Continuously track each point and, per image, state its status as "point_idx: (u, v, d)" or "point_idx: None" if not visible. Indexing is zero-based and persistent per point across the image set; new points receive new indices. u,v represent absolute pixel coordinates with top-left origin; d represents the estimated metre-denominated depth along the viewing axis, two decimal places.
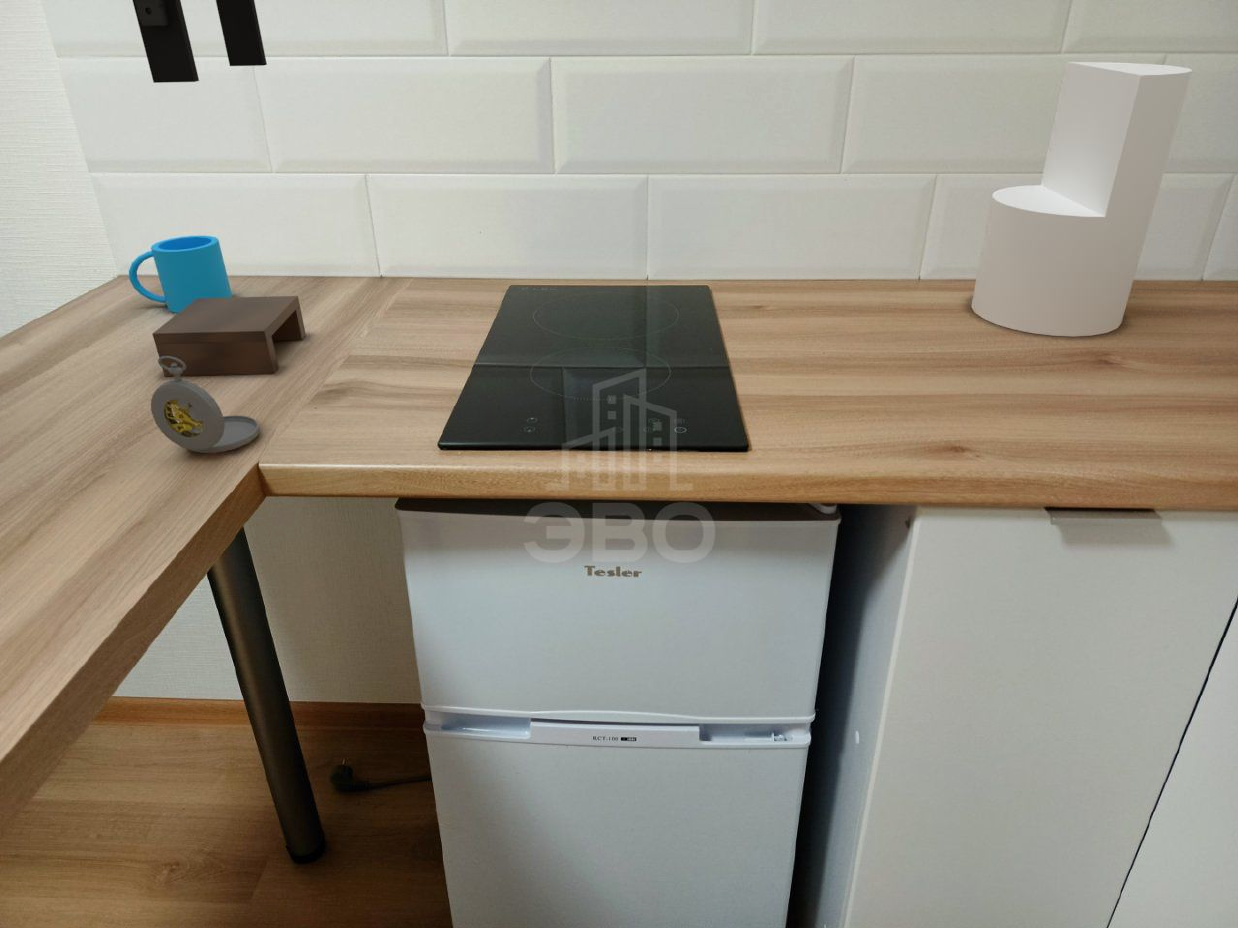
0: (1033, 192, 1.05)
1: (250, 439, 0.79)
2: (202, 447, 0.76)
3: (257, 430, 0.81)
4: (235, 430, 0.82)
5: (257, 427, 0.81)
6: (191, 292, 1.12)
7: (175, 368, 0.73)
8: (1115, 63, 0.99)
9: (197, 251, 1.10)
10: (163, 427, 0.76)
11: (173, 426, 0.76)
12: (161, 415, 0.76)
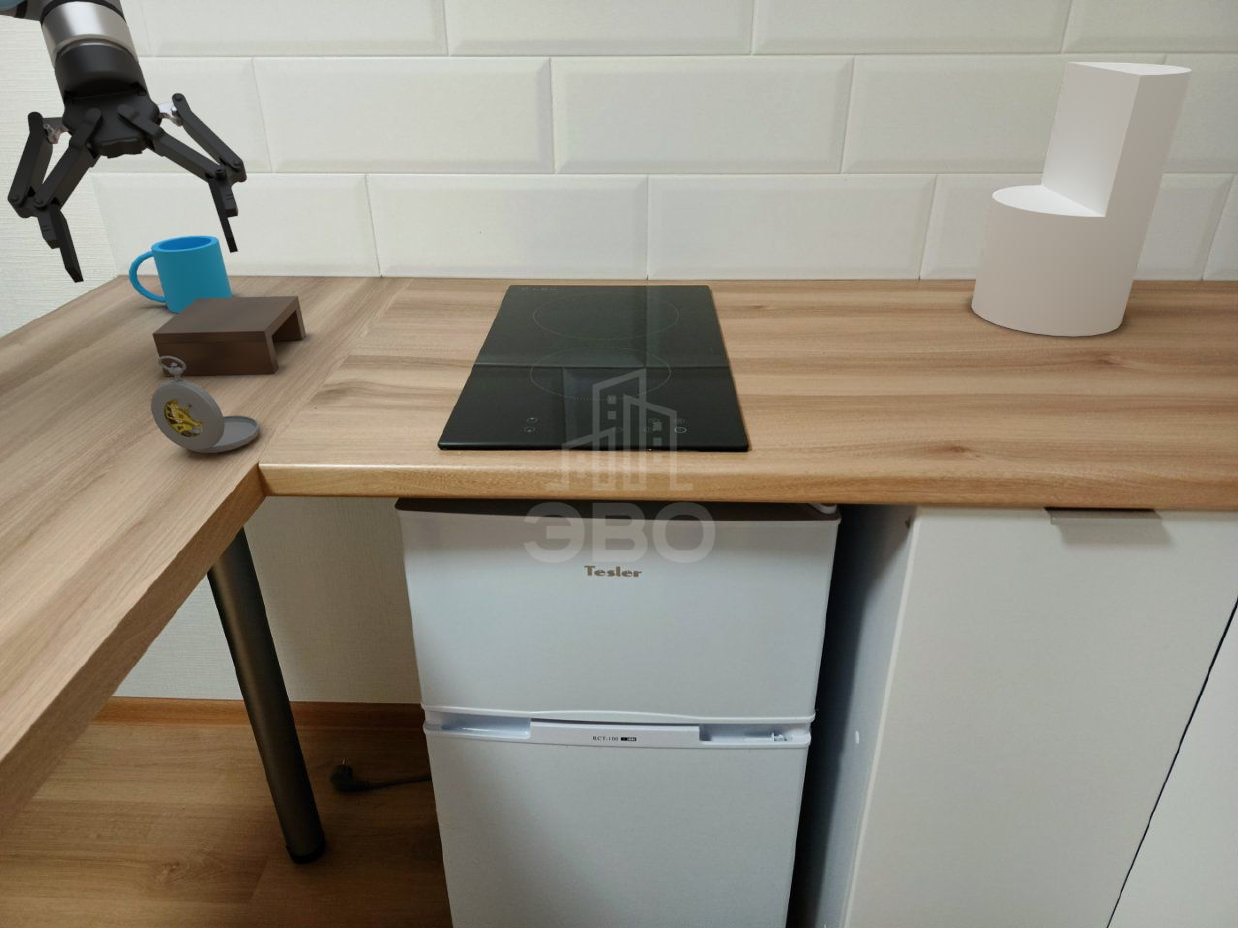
0: (1033, 192, 1.05)
1: (250, 439, 0.79)
2: (202, 447, 0.76)
3: (257, 430, 0.81)
4: (235, 430, 0.82)
5: (257, 427, 0.81)
6: (191, 292, 1.12)
7: (175, 368, 0.73)
8: (1115, 63, 0.99)
9: (197, 251, 1.10)
10: (163, 427, 0.76)
11: (173, 426, 0.76)
12: (161, 415, 0.76)
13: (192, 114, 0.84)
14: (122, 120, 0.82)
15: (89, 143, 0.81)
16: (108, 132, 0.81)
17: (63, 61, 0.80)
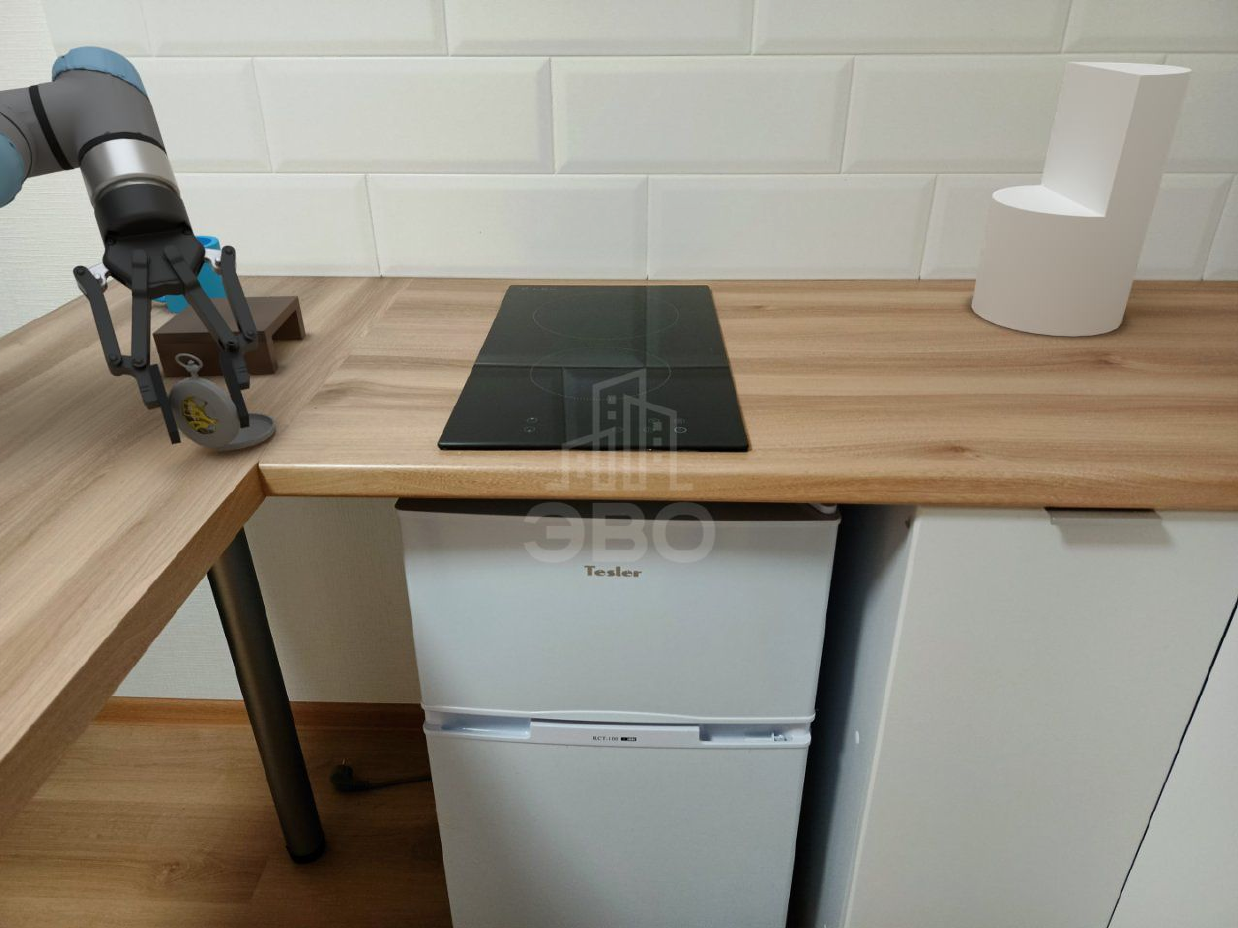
0: (1033, 192, 1.05)
1: (266, 437, 0.80)
2: (218, 444, 0.77)
3: (273, 428, 0.81)
4: (251, 428, 0.82)
5: (273, 425, 0.81)
6: None
7: (192, 366, 0.74)
8: (1115, 63, 0.99)
9: None
10: (180, 424, 0.77)
11: (190, 423, 0.77)
12: (178, 412, 0.76)
13: (233, 270, 0.80)
14: (164, 259, 0.78)
15: None
16: (153, 274, 0.77)
17: (108, 200, 0.76)
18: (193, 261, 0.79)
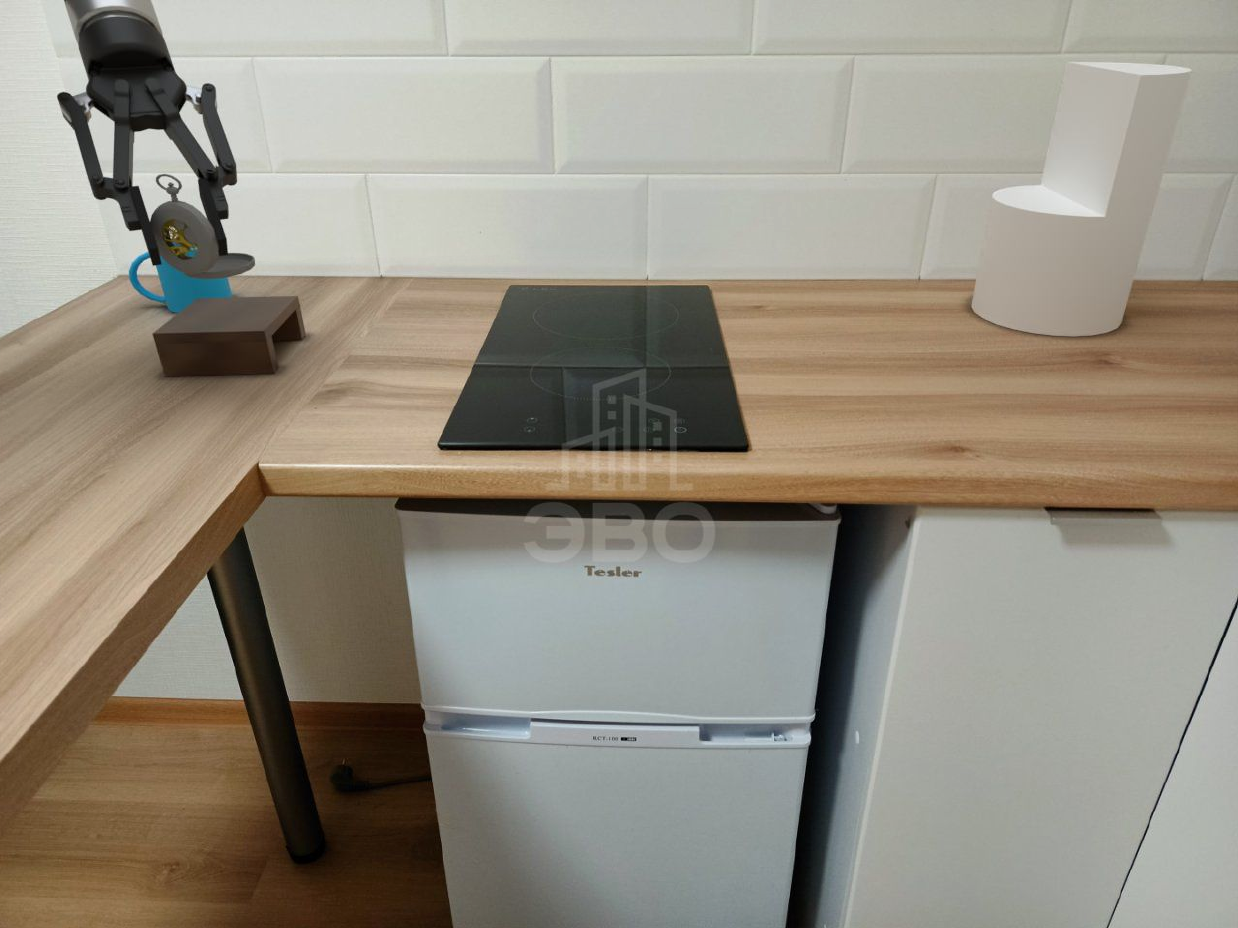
0: (1033, 192, 1.05)
1: (245, 269, 0.82)
2: (197, 270, 0.79)
3: (252, 263, 0.83)
4: (232, 265, 0.85)
5: (252, 260, 0.84)
6: (191, 292, 1.12)
7: (172, 187, 0.76)
8: (1115, 63, 0.99)
9: None
10: (161, 250, 0.79)
11: (170, 249, 0.79)
12: (159, 238, 0.79)
13: (213, 107, 0.82)
14: (146, 91, 0.80)
15: None
16: (135, 104, 0.79)
17: (91, 31, 0.78)
18: (174, 96, 0.81)
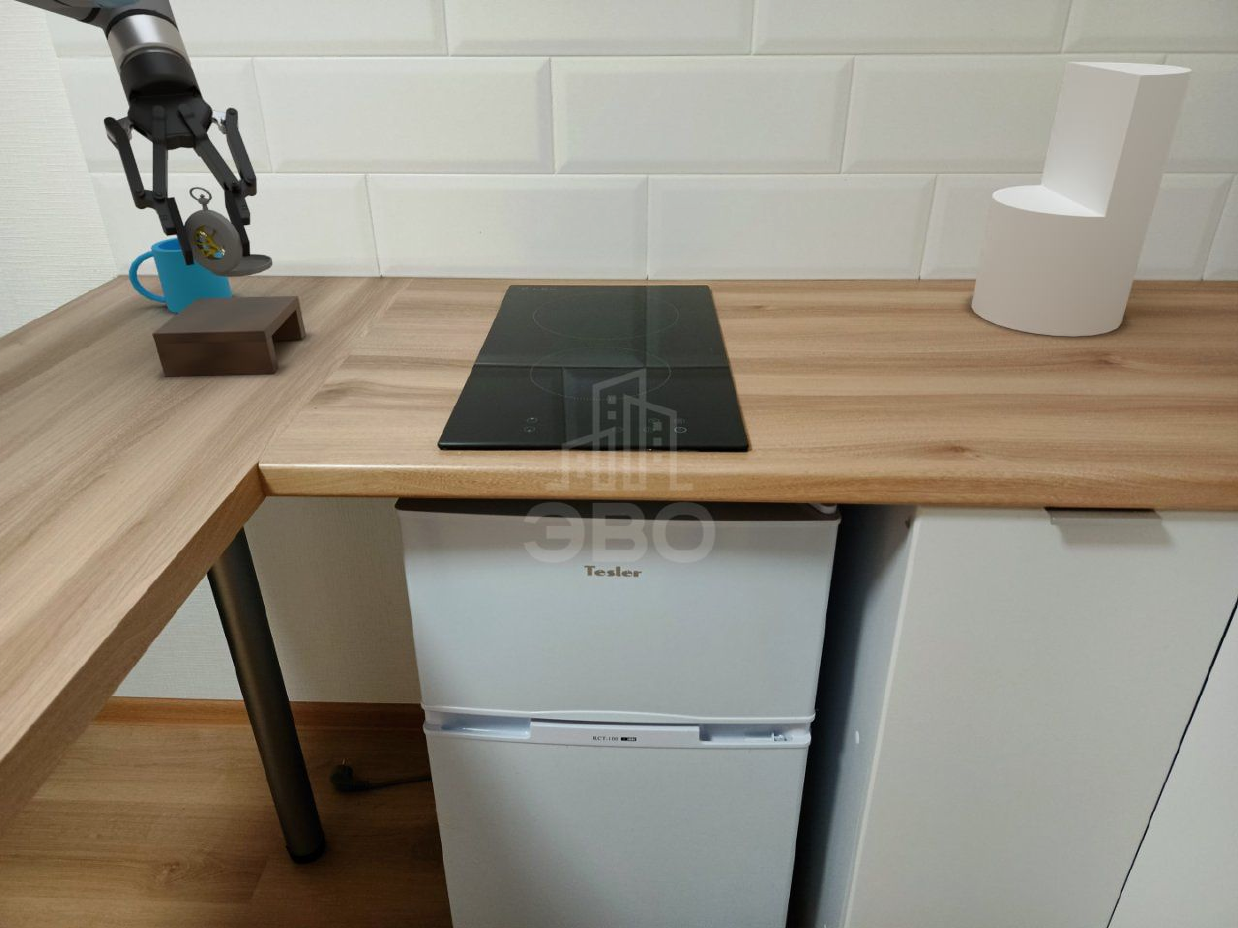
0: (1033, 192, 1.05)
1: (264, 268, 0.95)
2: (224, 269, 0.92)
3: (270, 263, 0.96)
4: (252, 265, 0.98)
5: (270, 261, 0.97)
6: (191, 292, 1.12)
7: (203, 198, 0.89)
8: (1115, 63, 0.99)
9: None
10: (193, 252, 0.92)
11: (201, 251, 0.92)
12: (191, 241, 0.92)
13: (236, 128, 0.95)
14: (179, 115, 0.93)
15: None
16: (170, 127, 0.92)
17: (131, 64, 0.91)
18: (202, 119, 0.94)
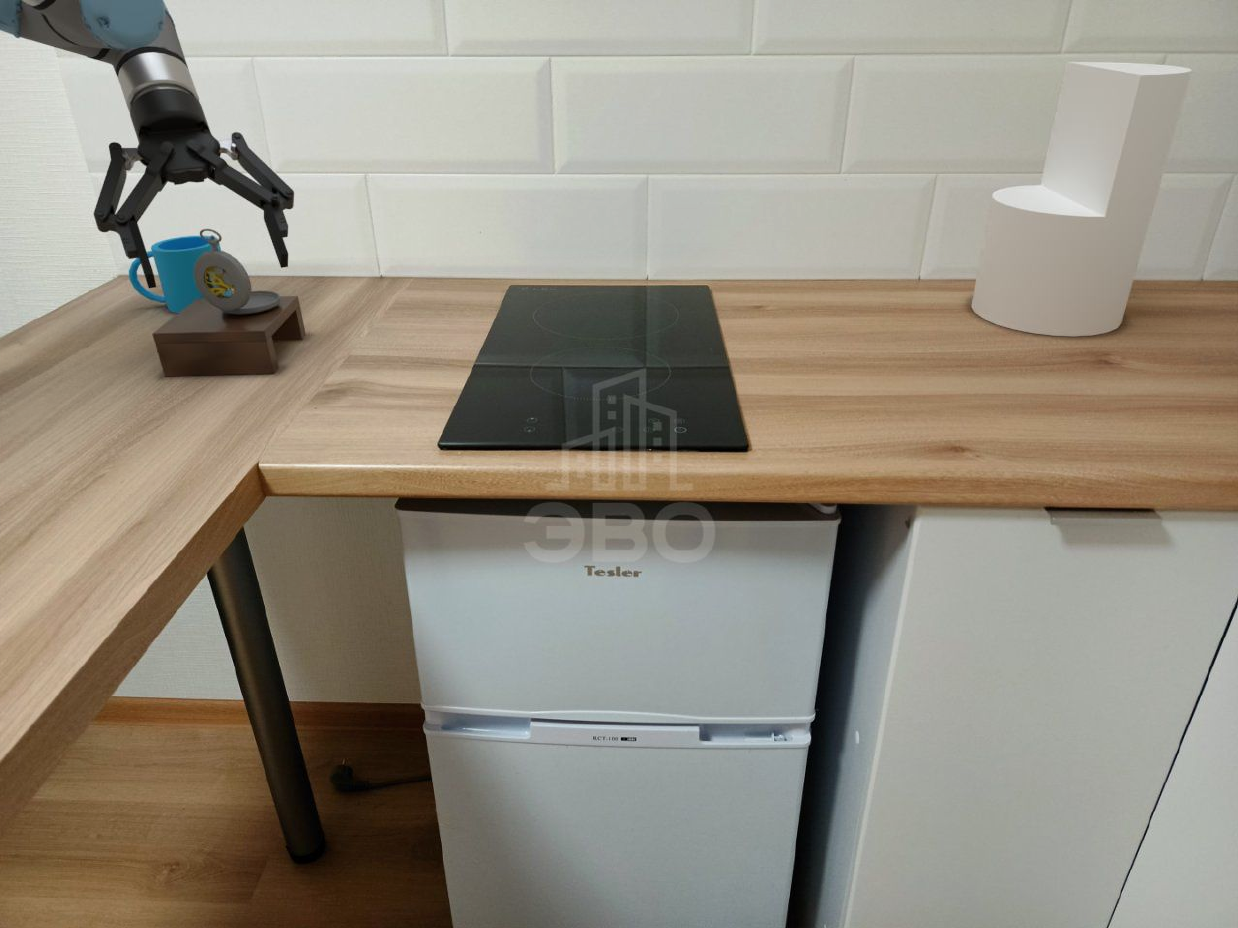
0: (1033, 192, 1.05)
1: (272, 306, 0.97)
2: (233, 307, 0.94)
3: (278, 300, 0.99)
4: (261, 301, 1.00)
5: (278, 298, 0.99)
6: (191, 292, 1.12)
7: (213, 239, 0.92)
8: (1115, 63, 0.99)
9: (197, 251, 1.10)
10: (203, 290, 0.94)
11: (211, 290, 0.94)
12: (201, 280, 0.94)
13: (249, 150, 0.98)
14: (190, 152, 0.95)
15: (161, 171, 0.94)
16: (178, 162, 0.94)
17: (141, 101, 0.93)
18: None
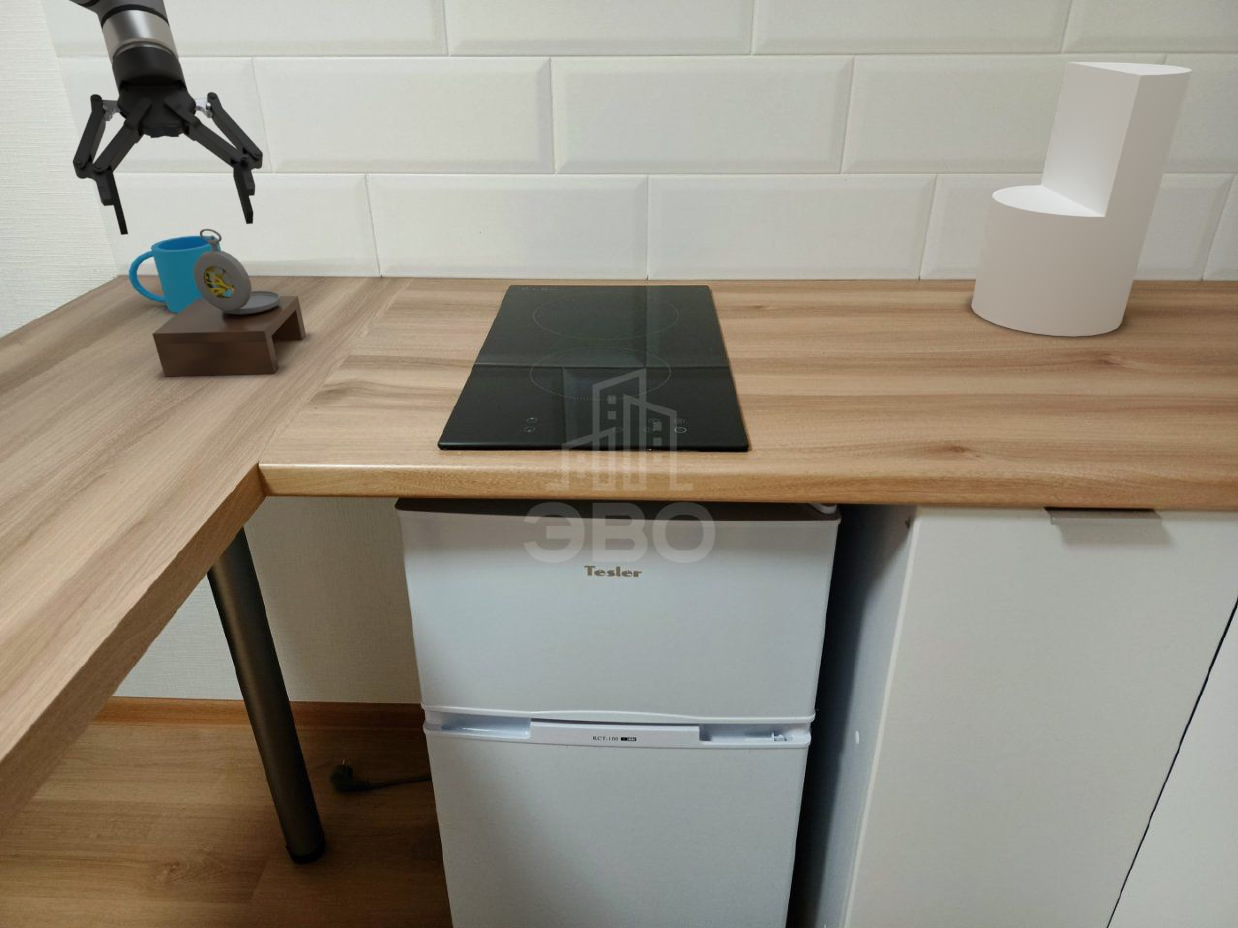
0: (1033, 192, 1.05)
1: (272, 306, 0.97)
2: (233, 307, 0.94)
3: (278, 300, 0.99)
4: (261, 301, 1.00)
5: (278, 298, 0.99)
6: (191, 292, 1.12)
7: (213, 239, 0.92)
8: (1115, 63, 0.99)
9: (197, 251, 1.10)
10: (203, 290, 0.94)
11: (211, 290, 0.94)
12: (201, 280, 0.94)
13: (223, 110, 1.05)
14: (166, 109, 1.02)
15: (138, 124, 1.01)
16: (155, 117, 1.01)
17: (123, 57, 1.00)
18: None
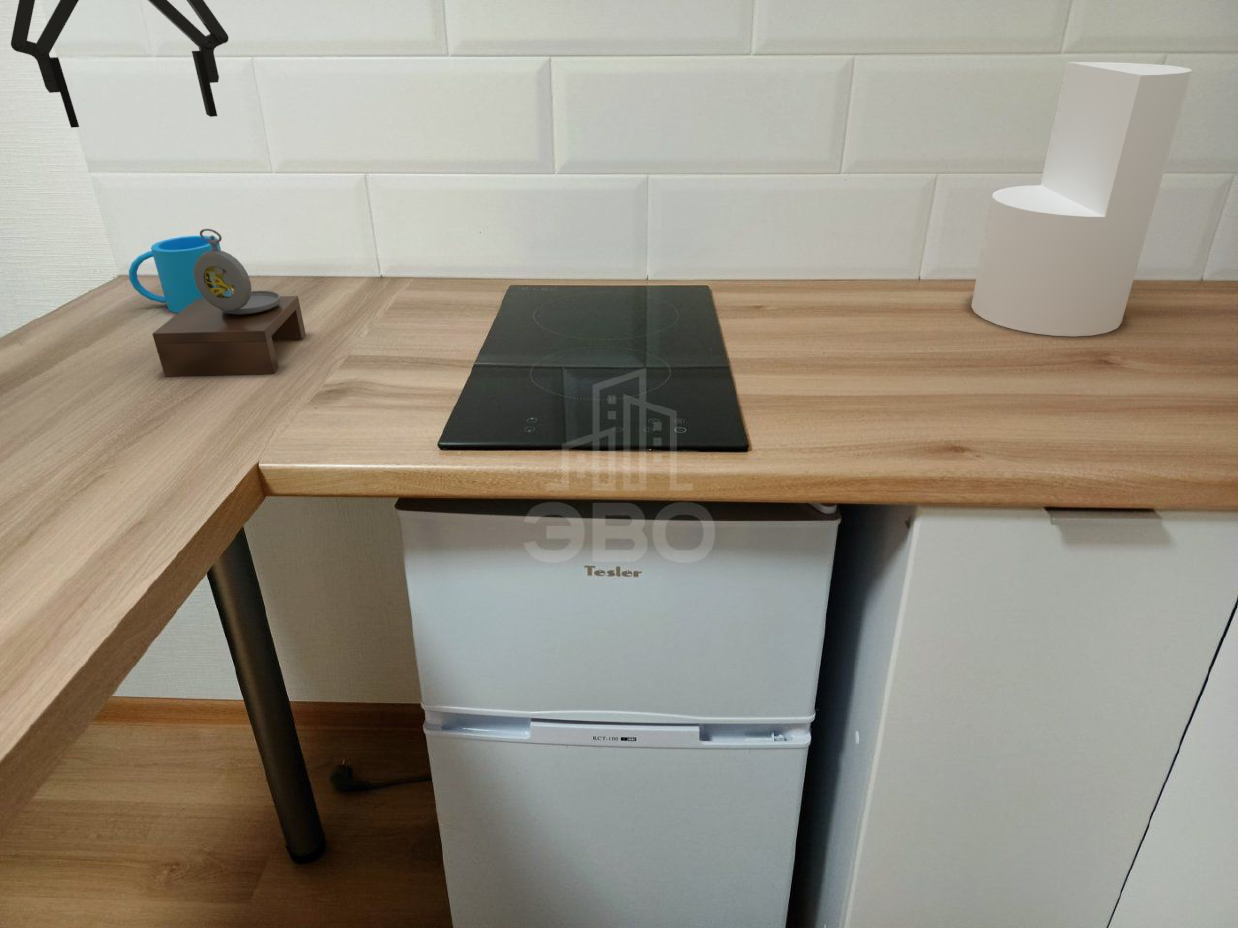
0: (1033, 192, 1.05)
1: (272, 306, 0.97)
2: (233, 307, 0.94)
3: (278, 300, 0.99)
4: (261, 301, 1.00)
5: (278, 298, 0.99)
6: (191, 292, 1.12)
7: (213, 239, 0.92)
8: (1115, 63, 0.99)
9: (197, 251, 1.10)
10: (203, 290, 0.94)
11: (211, 290, 0.94)
12: (201, 280, 0.94)
13: None
14: None
15: None
16: None
17: None
18: None
